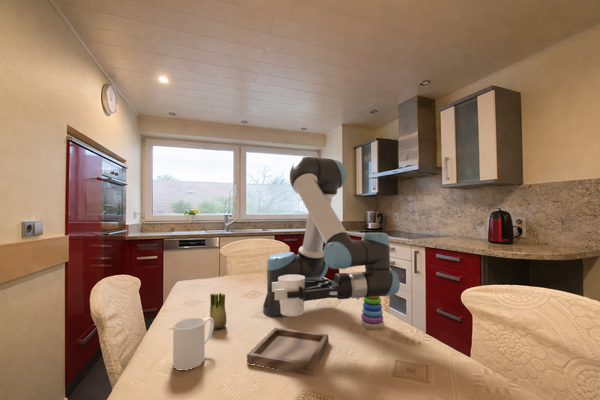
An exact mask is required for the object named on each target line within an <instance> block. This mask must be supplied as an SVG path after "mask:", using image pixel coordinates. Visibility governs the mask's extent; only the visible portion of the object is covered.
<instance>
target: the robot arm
mask: <svg viewBox="0 0 600 400" xmlns="http://www.w3.org/2000/svg"><path fill="white" fill-rule="evenodd" d="M290 168H291V169H290V172H289V183H290V185H291V187H292V189H293V191H294V192H295V193H296V194H297V195H299V196H300V199H301V200H302V203H303V204H304V206H305V208H306V209H307V212H308V213H307V220H306V224H305V225H306V226H305V231H304V237H303V242H302V245H301V246H299V248H298V251H297V254H295V253H294V252H291V251H283V252H277V253H274V254H271V255H270V256H269V257H268V258H267V260H266V288H267V289H266V292H267V293H266V295H265V298H264V302H263V306H262V312H263V314H264V315H266V316H269V317H274V318H275V317H276V318H284V317H287V316H284V315H282V314H281V310H280V300H286V299H303V301H304V302H307V301H316V300H324V299H338V300H348V299H350V298H351V299H356V300H360V298H364V297H377V296H380V297H389V296H393V295H396V294H397V293H399V291H400V288H401V287H400V286H401V283H400V280H399V275H398V274H397V272H396V271H395V270H393V269H392V270H391V255H390V253H391V252H390V249H391V248H390V247H391V245H390V237H389V235H388V234H387V233H386V232H366V233H364V234H363V239H359V240H353V239H352V238H351V237H350V235H349V234H348V231H347V230H346V229H345V227H344V225H343V224H342V222H341V220H340V218H339V217H338V215H337V213H336V211H335V210H334V208H333V207H332V201H333V197H335V196H336V195H337V194H338V189H341V188H342V187H343V186H344V185H345V183H346V181H347V171H346V168H345V167H344V164H343V163H342V162H341V161H339V160H338V159H332V158H325V157H315V156H303V157H300V158H299V159H298V160H296V161H295V162H294V163H293V165H292V166H291V167H290ZM324 244H325V245H324ZM323 245H324V246H323ZM361 266H363V267H364V269H365V271H352V272H339V273H335V274H334V275H333V278H332V279H329V278H325V275H326V274H327V272H328V270H329V268H330V269H332V270H346V269H348V268H349V269H350V268H354V267H361ZM283 275H302V276H305V288H303V289H302V287H301V286H299V291H298V288H288V289H279V286H278V277H280V276H283Z"/></svg>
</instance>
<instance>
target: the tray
mask: <svg viewBox="0 0 600 400" xmlns="http://www.w3.org/2000/svg"><path fill="white" fill-rule="evenodd" d="M329 343H330V342H329V334H326V333H320V332H319V333H318V332H312V331H304V330H297V329H288V328H280V327H274V328H273V329H272V330H270V332H269V333H267V335H265V337H263V339H261V341H260V342H258V344H256V345H255V346H254V347H253V348H252V349H251V350H250V351H249V352H248V353H247V354H246V364H247V363H249V364H255V365H260V366H264V367H263V368H265V367H269V368H268V369H270V368H274V369H273V370H275V369H279V370H278V371H281V370H283V371H282V372H286V371H287V372H286V373H291V372H292V373H293V374H297V375H301V376H302V375H303V376H308V377H313V376H314V373H315V371H316V369H317V367H318V365H319V363H320V361H321V359H322V357H323V354H324V353H325V351H326V349H327V347H328V345H329ZM249 364H248V365H249Z"/></svg>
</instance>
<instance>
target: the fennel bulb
mask: <svg viewBox="0 0 600 400" xmlns="http://www.w3.org/2000/svg"><path fill="white" fill-rule="evenodd" d="M209 296H210V308H209V315H210V316H209V317H211V318H213V320H214V328H213V330H221V329H223V328H225V326H226V325H227V323H228V322H227V312H226V311H227V310H226V294H225V293H222V292H219V293H210V295H209Z"/></svg>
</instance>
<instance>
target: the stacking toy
mask: <svg viewBox="0 0 600 400" xmlns="http://www.w3.org/2000/svg"><path fill="white" fill-rule="evenodd" d="M380 297H381V296H377V297H363V303H362V307H363V308H362V314H361V315H360V317H361V320H360V324H361V326H362V327H363V328H365V329H369V330H381V329H383V328H385V321H384V316H383V313H384V311H383V310H382V308H383V305H382V303H381V301H382V299H381V298H380Z"/></svg>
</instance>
